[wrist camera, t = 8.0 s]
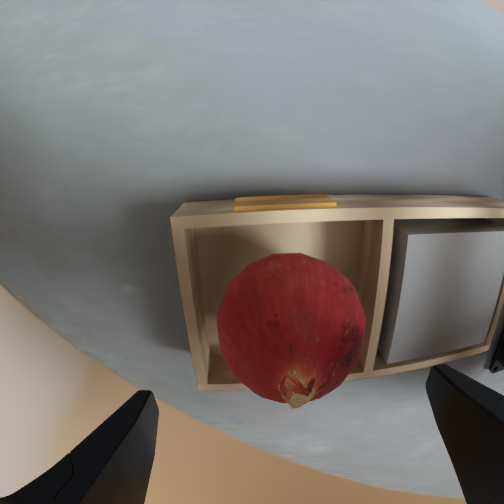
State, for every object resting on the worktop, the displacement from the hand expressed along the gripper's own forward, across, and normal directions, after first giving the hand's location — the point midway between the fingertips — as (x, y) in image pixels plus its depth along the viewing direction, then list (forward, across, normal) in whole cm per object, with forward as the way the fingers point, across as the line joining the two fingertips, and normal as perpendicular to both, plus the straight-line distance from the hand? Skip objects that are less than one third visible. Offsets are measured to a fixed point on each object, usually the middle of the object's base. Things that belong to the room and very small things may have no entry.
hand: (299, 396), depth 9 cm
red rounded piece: (+8, 0, 0) cm, 8 cm away
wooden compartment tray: (+8, -4, 0) cm, 9 cm away
